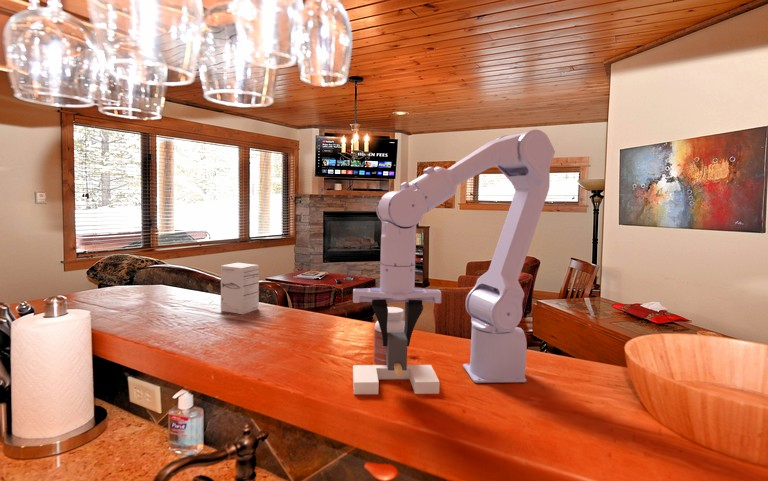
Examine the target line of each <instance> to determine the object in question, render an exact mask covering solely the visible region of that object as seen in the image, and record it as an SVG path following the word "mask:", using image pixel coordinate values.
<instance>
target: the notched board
mask: <svg viewBox="0 0 768 481" xmlns="http://www.w3.org/2000/svg"><path fill="white" fill-rule="evenodd" d="M379 380H409V381H410V384H411V386H412V389H413V393H414V395H415V394H416V395H425V394H427V395H428V394H429V395H431V394H432V395H433V394H434V395H435V394H437V395H439V394H440V385H441V384H440V380H439V377H438V376H437V374H436V372H435V369H434V368H433V366H432V364H407V370H403V376H402V377H397V376H396V374H395V370H388V368H387V365H374V364H372V365H371V364H363V365H361V364H359V365H358V364H356V365H355V364H354V365H352V383H353V385H352V386H353V387H352V388H353V390H354V391H353V395H379V387H380V386H379Z"/></svg>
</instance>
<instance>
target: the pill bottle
mask: <svg viewBox="0 0 768 481" xmlns="http://www.w3.org/2000/svg"><path fill="white" fill-rule="evenodd" d="M387 308H388V318H387V332H404V327H405V320H403V319H405V309H403V308H402V307H395V306H387ZM373 334H374V335H373V338H374V339H373V365H387V363H386V346H383V343H382V333H381V329H380V325H379V322H378V320H377V321H376V322H375V323H374V333H373Z"/></svg>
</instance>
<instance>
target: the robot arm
mask: <svg viewBox="0 0 768 481" xmlns="http://www.w3.org/2000/svg"><path fill="white" fill-rule="evenodd" d="M555 153H556V151H555V148H554V147H553V144H552V142H551V140H550V138H549V137H548V135H547V134H546V133H545V132H544V131H542V130H540V129H531V130H529V131H526V132H525V131H524V132H521V133H515V134H509V135H501V136H500V137H499V136H498V137H497V138H496V139H493V140H490V141H488V142H486V143H485V144H483V145H482V146H480V147H479V148H477V149H475V150H474V151H473V152H471V153H469V154H468V155H467V156H465V157H463V158H462V159H460V160H459V161H458V162H456V163H454V164H452V165H451V166H450V167H448V168H444V167H442V166H435V167H434V166H428V167H426V168H424V169H423V170H422V171H423V174H422V175H419V176H418V177H416V178H415V179H413V180H411V181H410V182H408V181H404V182H402V183H400V190H393V191H392V190H391V191H388V192H386V193H384V195H382V196H381V198H380V200H379V202H378V205H377V206H376V208H375V211H376V212H375V213H376V215H377V217H378V219H379V220H380V221H381V235H380V266H379V267H380V269H379V270H380V272H379V274H380V276H379V287H370V288H368V287H367V288H353V290H352V303H355V304H357V303H366V302H368V303H371V307H372V310H373V312H374V314H375V317H376V319H377V321H378V322H379V325H380V329H381V333H382V343H383V346H387V340H388V338H387V318H388V308H387V307H388V303H404V322H405V327H404V332H405V335H406V337H407V340H408V343H407V347H410V342H411V339H412V336H413V331H414V330H415V329H414V328H415V326H416V324H417V322H418V320H419V318H420V316H421V315H422V314H423V310H424V305H423V303H434V304H442V291H441V290H440V289H434V288H433V289H432V288H431V289H430V288H419V287H418V288H417V287H415V280H416V279H415V277H416V250H417V248H416V245H417V225H418V224H419V223H420V222H421V220H422V219H423V217H424V215H425V214H427V213H428V212H429V211H431V210H433V209H435V208H437V207H439V206H440V205H441V204H443V203H445V202H446V201H448V200H450V199H451V198H453V197H454V196H455V195H456V192H457V187H458V186H459V185H461V184H463V183H464V182H466V181H468V180H470V179H471V178H474V177H475V176H477V175H480V174H481V173H483V172H484V171H486V170H488V169H491V168H492V167H496V168H497V169H498V170H499V171H500V173H502V174H503V175H504V176H505V177H506V179H507V180H508V181H509V182H510V183H511V184H512V186H513V188H514V190H515V191H514V194H513V197H512V200H511V203H510V206H509V209H508V213H507V215H506V218H505V221H504V224H503V226H502V230H501V232H500V236H499V238H498V242H497V244H496V246H495V250H494V252H493V256H492V257H491V258H492V259H491V261H490V265H489V267H488V270H487V271H486V272H484V273H483V274H482V275H480V276H479V277H478V278H477V279H476V283H475V285H474V287H473V288H472V289H471V290H470V291H469V292H468V294H467V295H466V298H465V305H464V306H465V310H466V312H467V313H468V315H469V316H470V317H471V318H470V322H471V333H470V334H471V336H470V337H471V338H470V356H469V357H470V358H469V363H463V364H462V367H463V369H465V371H466V372H467V374H468V375H469V377H470V378H471V380H472V381H473V382H474V383H475V384H476V383H477V384H478V383H479V384H480V383H485V384H486V383H526V382H527V378H526V366H527V365H526V364H527V349H528V348H527V346H528V345H527V336H526V334H525V331H524V329H522V328H521V327H518V325H519V324H520V322H521V320H522V317H523V301H524V298H525V292H524V290H523V288H522V285H521V284H520V282H519V279H520V276H521V272H522V270H523V267H524V265H525V261H526V258H527V256H528V255H527V254H528V252H529V249H530V246H531V243H532V241H533V238H534V234H535V232H536V229H537V226H538V223H539V220H540V217H541V214H542V212H543V208H544V205H545V202H546V200H547V196H548V194H549V191H550V181H551V180H550V172H551V171H550V169H551V168H550V167H551V164H552V161H553V159H554V155H555Z"/></svg>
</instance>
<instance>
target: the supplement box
mask: <svg viewBox="0 0 768 481" xmlns="http://www.w3.org/2000/svg"><path fill="white" fill-rule="evenodd" d="M259 289H260V265H259V264H253V263H243V262H234V263H229V264H221V265H220V312H224V313H225V312H227V313H232V314H238V315H245V314H248V313H251V312H254V311H257V310H259V299H260V298H259V297H260V296H259V295H260V290H259Z"/></svg>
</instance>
